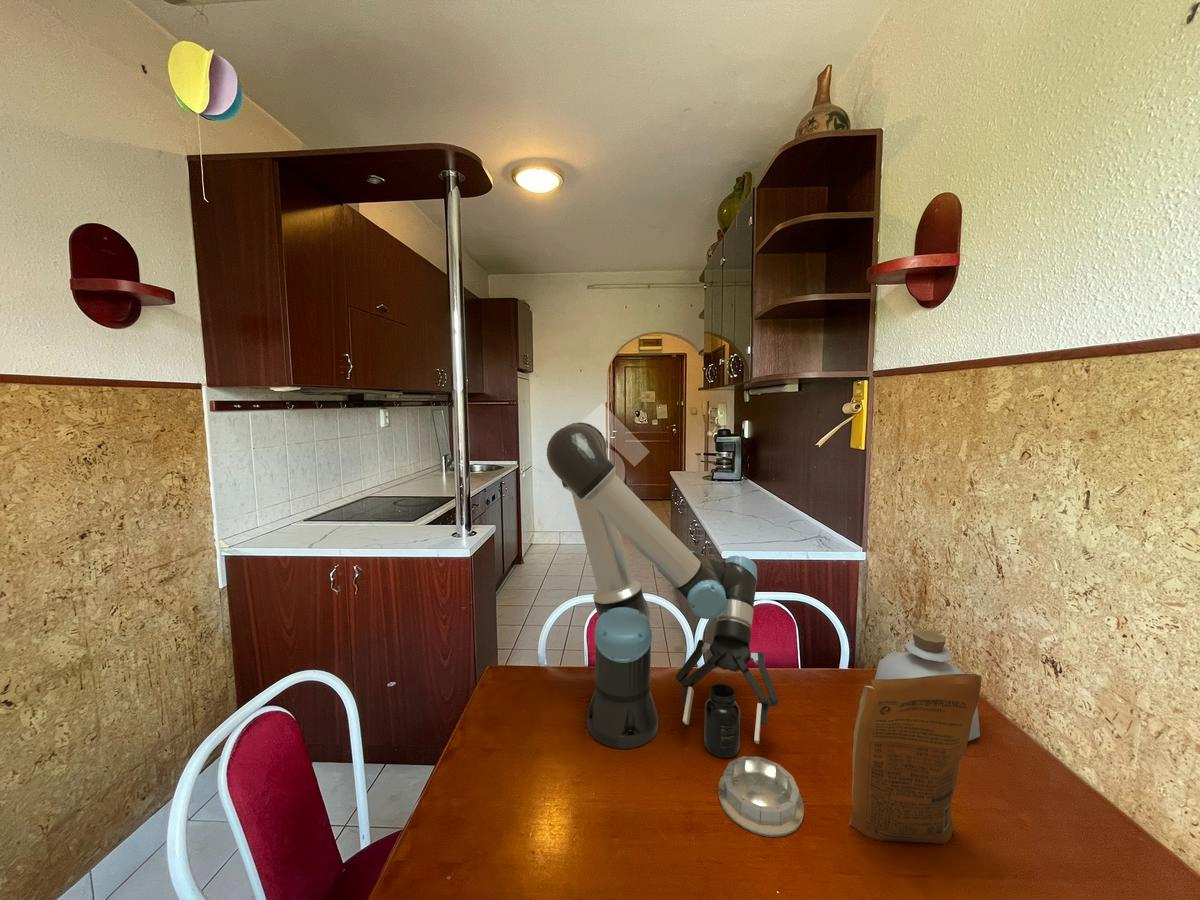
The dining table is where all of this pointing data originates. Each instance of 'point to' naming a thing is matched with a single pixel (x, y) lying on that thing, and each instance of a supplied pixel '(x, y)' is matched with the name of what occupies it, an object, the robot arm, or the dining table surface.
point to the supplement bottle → (722, 722)
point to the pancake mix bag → (910, 755)
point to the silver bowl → (761, 797)
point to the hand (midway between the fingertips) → (720, 732)
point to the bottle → (923, 663)
